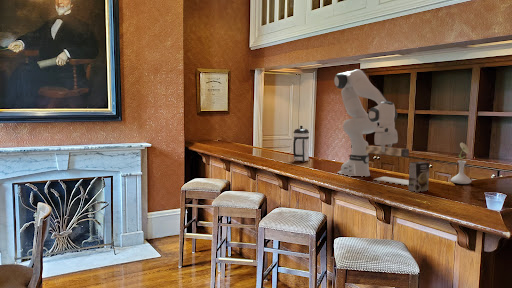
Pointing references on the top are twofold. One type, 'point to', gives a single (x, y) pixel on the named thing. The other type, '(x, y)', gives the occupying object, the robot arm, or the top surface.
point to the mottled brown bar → (387, 151)
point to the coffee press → (301, 144)
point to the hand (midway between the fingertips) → (386, 151)
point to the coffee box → (418, 176)
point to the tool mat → (393, 180)
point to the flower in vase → (462, 168)
